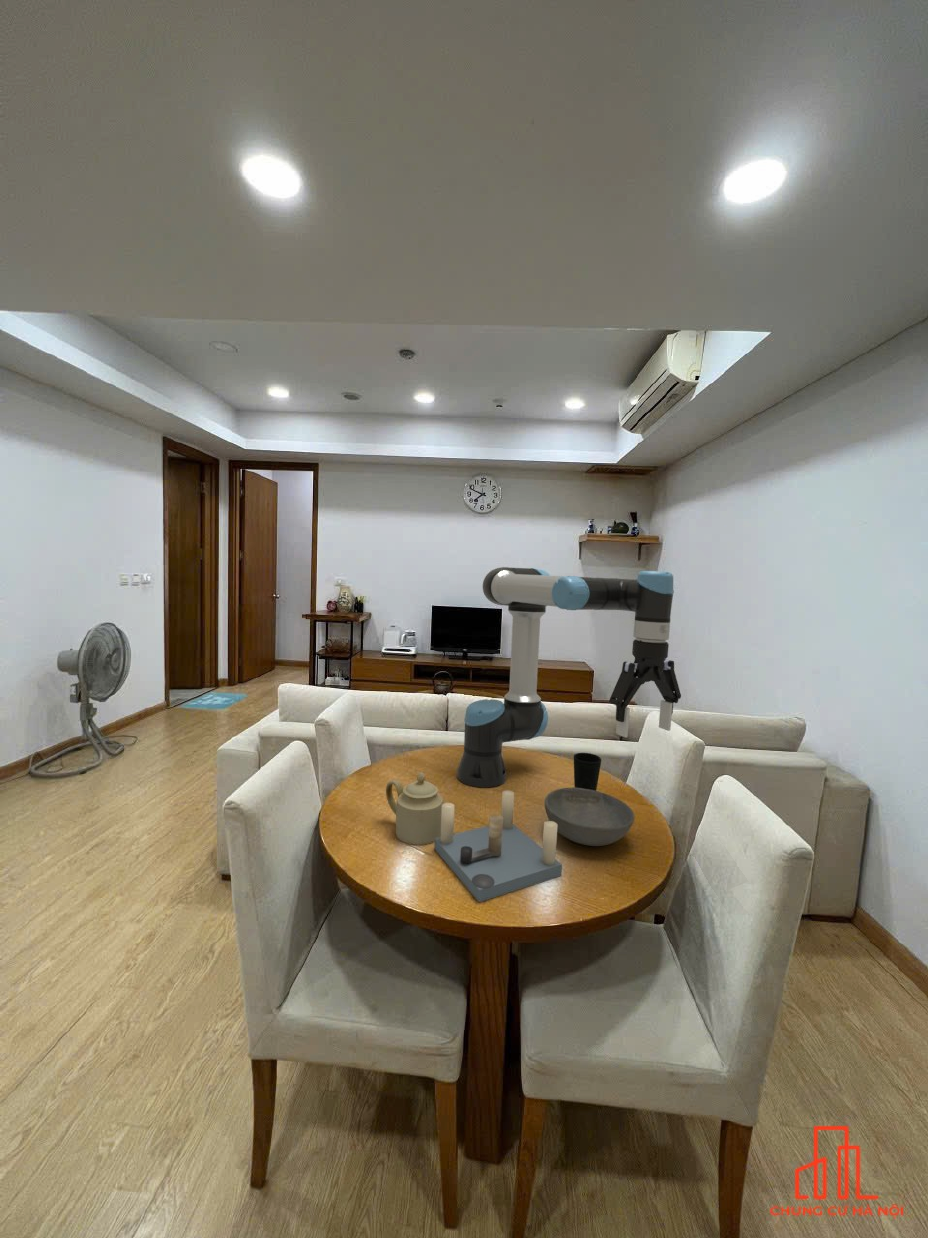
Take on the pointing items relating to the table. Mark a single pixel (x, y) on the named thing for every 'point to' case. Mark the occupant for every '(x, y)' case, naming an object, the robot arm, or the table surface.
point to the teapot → (416, 811)
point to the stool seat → (516, 862)
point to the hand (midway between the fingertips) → (643, 732)
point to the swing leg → (494, 843)
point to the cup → (586, 770)
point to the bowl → (588, 816)
